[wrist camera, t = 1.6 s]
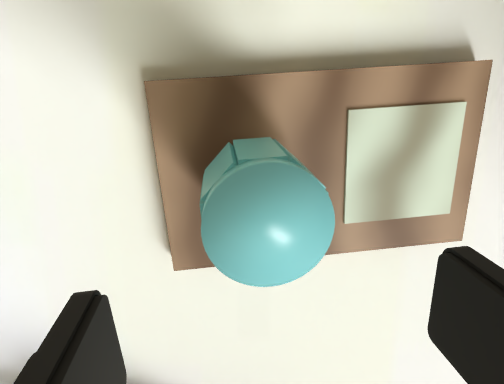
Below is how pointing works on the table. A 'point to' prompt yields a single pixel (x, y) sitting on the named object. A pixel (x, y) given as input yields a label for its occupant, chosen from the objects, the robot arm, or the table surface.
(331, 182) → the post board
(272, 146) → the teal cap
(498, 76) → the table surface
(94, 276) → the table surface
